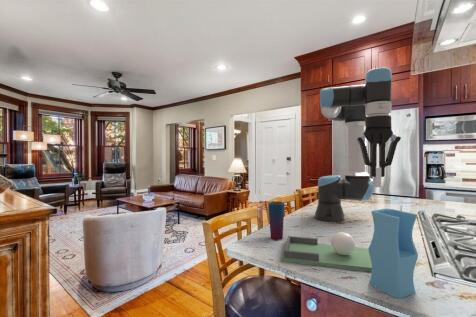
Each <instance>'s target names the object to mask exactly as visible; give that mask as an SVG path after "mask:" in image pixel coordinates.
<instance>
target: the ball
mask: <svg viewBox="0 0 476 317" xmlns="http://www.w3.org/2000/svg"><path fill="white" fill-rule="evenodd" d="M330 245H332V248H333V249H334V251H335V252H336V253H338V254H340V255H349V254H351V253H352V252H353V251H354V249H355V247H356V242H355V240H354V237H352V236H351V234H349V233H348V232H344V231H339V232H336V233H335V234H334V235H332V236H331V241H330Z"/></svg>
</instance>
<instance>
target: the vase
mask: <svg viewBox="0 0 476 317" xmlns="http://www.w3.org/2000/svg"><path fill="white" fill-rule="evenodd" d="M371 216H372V220H373V221H372V222H373V234H372V238H371V242H370V244H369V246H368V248H369V255H370V258H371V263H372V272H371V273H370V274H371V275H370V279H369V282H368V285H370V286H372V287H374V288H376V289H377V290H379V291H381V292H383V293H385V294H387V295H388V296H391V297H393V298H395V299H397V300H398V299H400V300H401V299H404V298H406V297H408V296H411V295H414V294H416V290H415V289H416V288H415V284H414V283H415V282H414V273H415V267H416V265H417V261H418V259H419V254H418V253H419V252H418V251H417V248H416V246H415V244H414V238H413V230H414V225H415V222H416V220H417V217H418V214H417V213H412V212H408V211H404V210H402V211H400V210H399V209H393V208H381V209H374V210H371Z"/></svg>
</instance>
